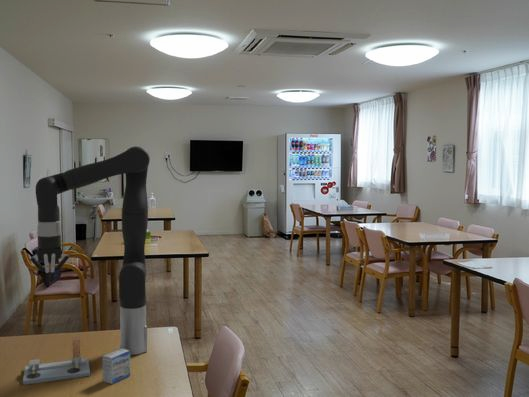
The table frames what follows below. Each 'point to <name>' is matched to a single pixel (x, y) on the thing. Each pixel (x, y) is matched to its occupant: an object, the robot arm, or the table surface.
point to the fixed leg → (34, 365)
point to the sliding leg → (76, 351)
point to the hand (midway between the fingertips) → (50, 282)
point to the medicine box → (116, 366)
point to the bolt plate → (56, 371)
